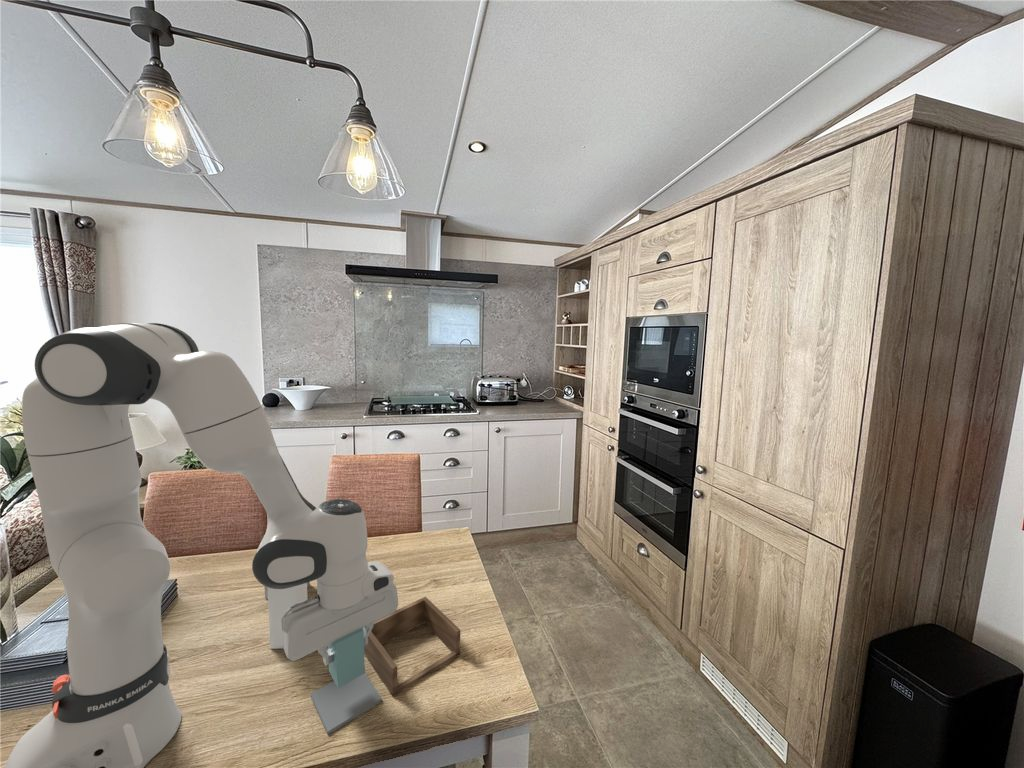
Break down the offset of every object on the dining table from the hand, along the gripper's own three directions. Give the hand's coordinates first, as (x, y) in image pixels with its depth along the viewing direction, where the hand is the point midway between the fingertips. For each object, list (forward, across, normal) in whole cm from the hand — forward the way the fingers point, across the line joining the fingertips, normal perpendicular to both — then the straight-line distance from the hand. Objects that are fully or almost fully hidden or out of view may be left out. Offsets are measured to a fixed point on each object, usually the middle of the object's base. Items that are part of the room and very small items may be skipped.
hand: (346, 652), depth 76 cm
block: (+4, 0, 0) cm, 4 cm away
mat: (+10, 0, 0) cm, 10 cm away
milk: (+10, -4, +24) cm, 26 cm away
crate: (+10, +15, +2) cm, 18 cm away
